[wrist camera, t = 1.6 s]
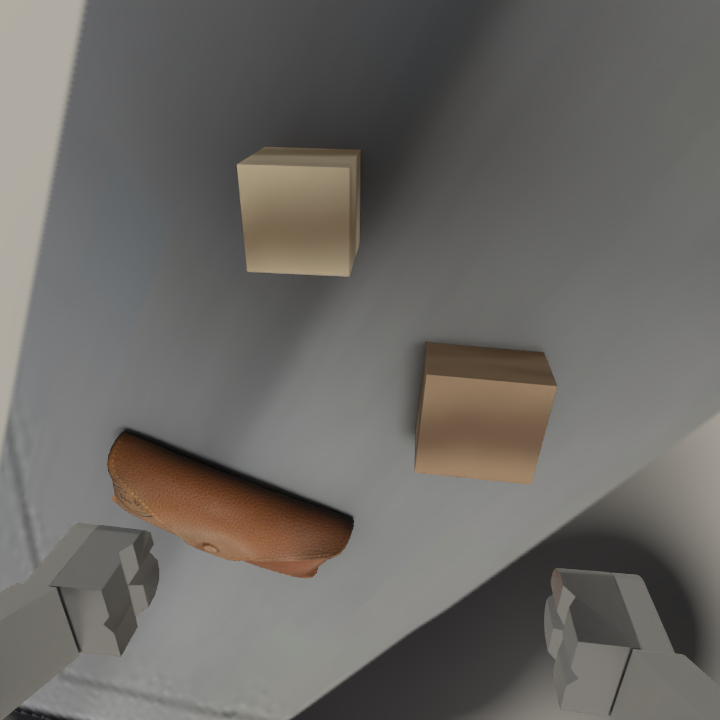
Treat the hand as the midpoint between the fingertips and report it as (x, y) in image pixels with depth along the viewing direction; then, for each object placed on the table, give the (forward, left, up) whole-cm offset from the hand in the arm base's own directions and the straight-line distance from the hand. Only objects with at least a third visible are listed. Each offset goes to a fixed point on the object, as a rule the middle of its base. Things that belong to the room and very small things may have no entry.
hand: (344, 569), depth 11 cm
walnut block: (+10, +6, -22) cm, 25 cm away
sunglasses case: (+21, -12, -23) cm, 33 cm away
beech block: (-2, -4, -22) cm, 23 cm away
